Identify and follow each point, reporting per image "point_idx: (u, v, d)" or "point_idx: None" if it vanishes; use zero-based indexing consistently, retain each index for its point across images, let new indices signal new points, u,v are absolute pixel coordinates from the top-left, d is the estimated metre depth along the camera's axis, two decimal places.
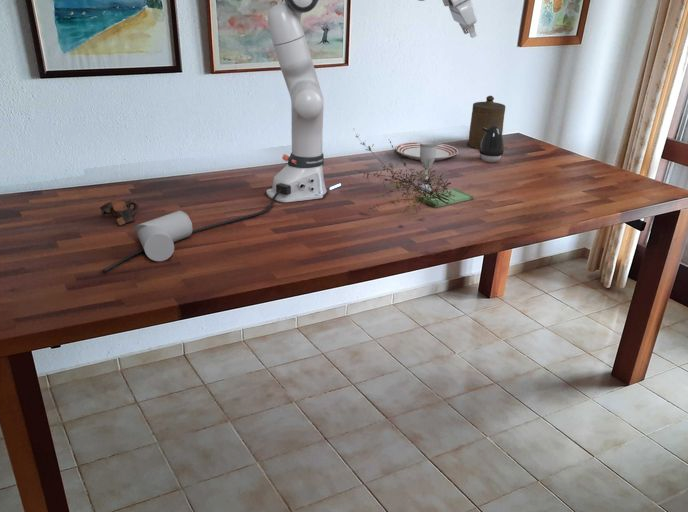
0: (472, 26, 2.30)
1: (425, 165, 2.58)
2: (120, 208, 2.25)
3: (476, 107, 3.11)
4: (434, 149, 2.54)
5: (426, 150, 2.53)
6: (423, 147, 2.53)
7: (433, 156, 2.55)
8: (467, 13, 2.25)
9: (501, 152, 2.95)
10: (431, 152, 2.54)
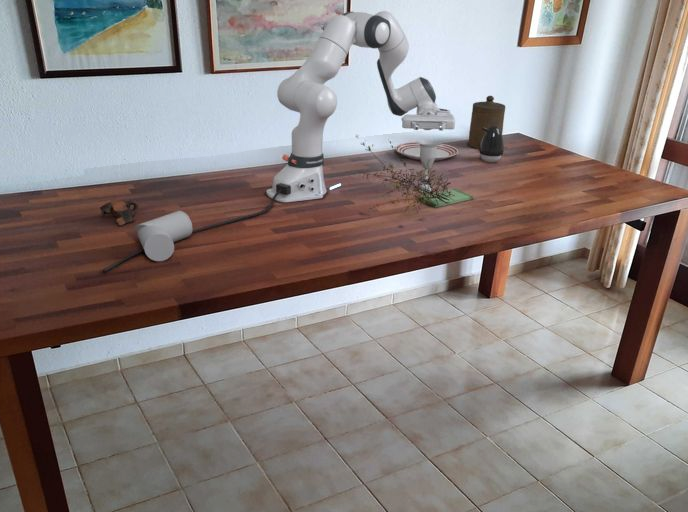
0: (445, 126, 2.66)
1: (425, 165, 2.58)
2: (120, 208, 2.24)
3: (476, 107, 3.10)
4: (434, 149, 2.54)
5: (426, 150, 2.53)
6: (423, 147, 2.53)
7: (433, 156, 2.55)
8: None
9: (501, 152, 2.95)
10: (431, 152, 2.54)
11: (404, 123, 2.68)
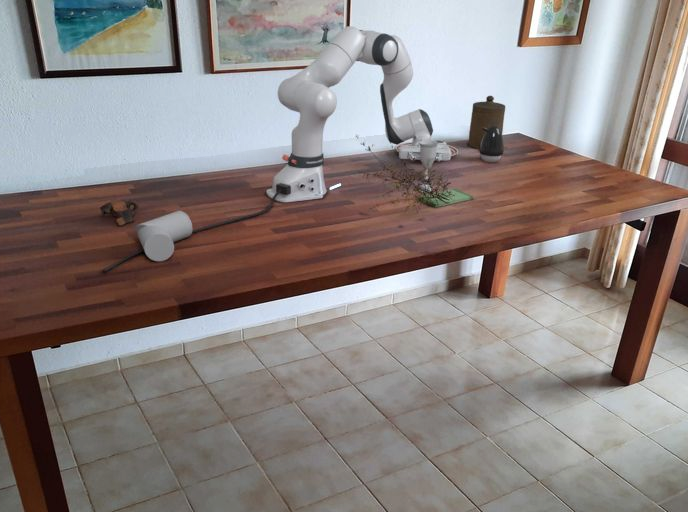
0: (441, 158, 2.70)
1: (425, 165, 2.58)
2: (120, 208, 2.24)
3: (476, 107, 3.10)
4: (434, 149, 2.54)
5: (426, 150, 2.53)
6: (423, 147, 2.53)
7: (433, 156, 2.55)
8: None
9: (501, 152, 2.95)
10: (431, 152, 2.54)
11: (401, 154, 2.71)
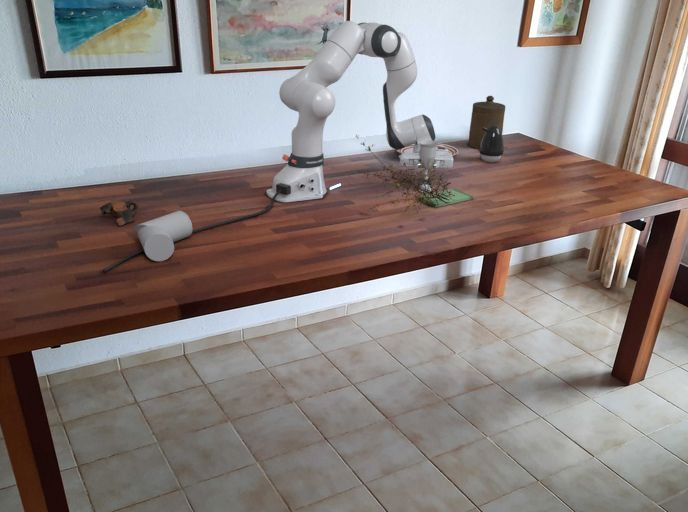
0: (439, 165, 2.62)
1: (425, 165, 2.58)
2: (120, 208, 2.24)
3: (476, 107, 3.11)
4: (434, 149, 2.54)
5: (426, 150, 2.53)
6: (423, 147, 2.53)
7: (433, 156, 2.55)
8: None
9: (501, 152, 2.95)
10: (431, 152, 2.54)
11: (402, 161, 2.63)
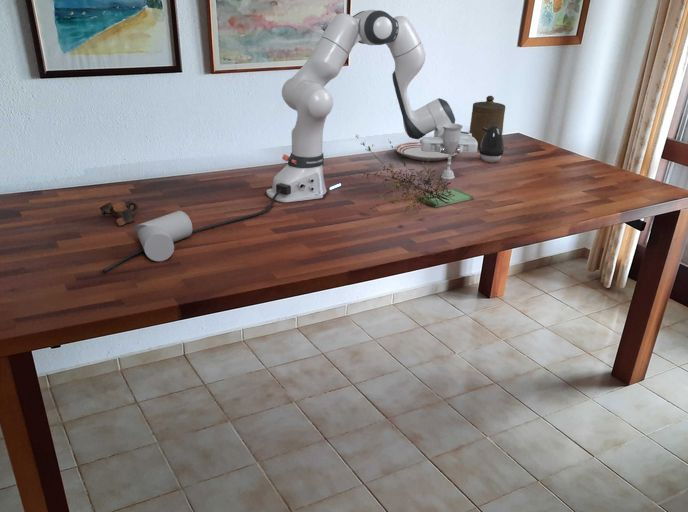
0: (462, 150, 2.49)
1: (448, 150, 2.45)
2: (120, 208, 2.24)
3: (476, 107, 3.10)
4: (458, 133, 2.42)
5: (450, 133, 2.41)
6: (447, 130, 2.41)
7: (457, 140, 2.43)
8: None
9: (501, 152, 2.95)
10: (455, 136, 2.42)
11: (423, 146, 2.50)
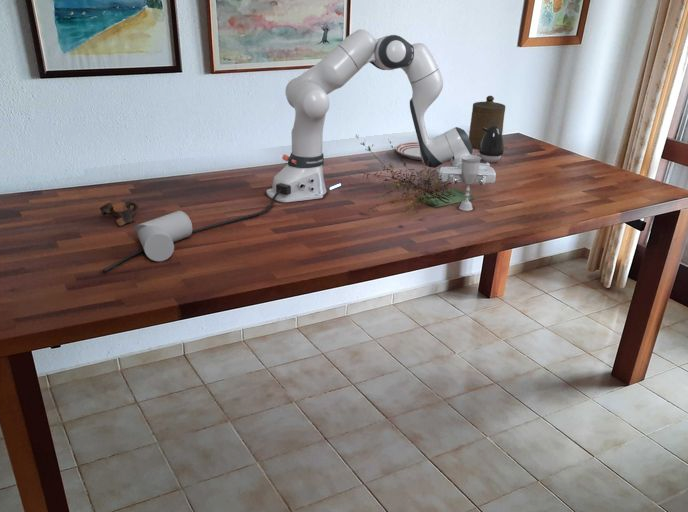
0: (485, 180, 2.46)
1: (467, 181, 2.42)
2: (120, 209, 2.24)
3: (476, 107, 3.10)
4: (477, 165, 2.38)
5: (469, 165, 2.38)
6: (465, 162, 2.38)
7: (476, 172, 2.40)
8: None
9: (501, 152, 2.95)
10: (474, 168, 2.38)
11: (441, 176, 2.47)
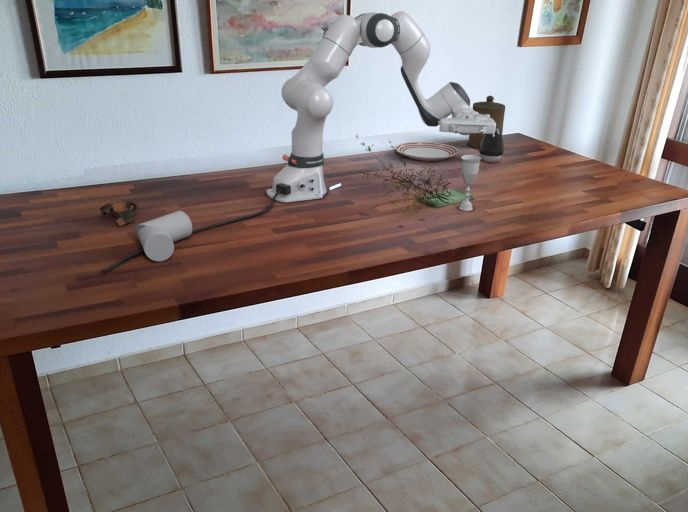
0: (486, 130, 2.50)
1: (467, 181, 2.42)
2: (120, 209, 2.24)
3: (476, 107, 3.10)
4: (477, 165, 2.38)
5: (469, 165, 2.38)
6: (465, 162, 2.38)
7: (476, 172, 2.40)
8: None
9: (501, 152, 2.95)
10: (474, 168, 2.38)
11: (442, 126, 2.51)
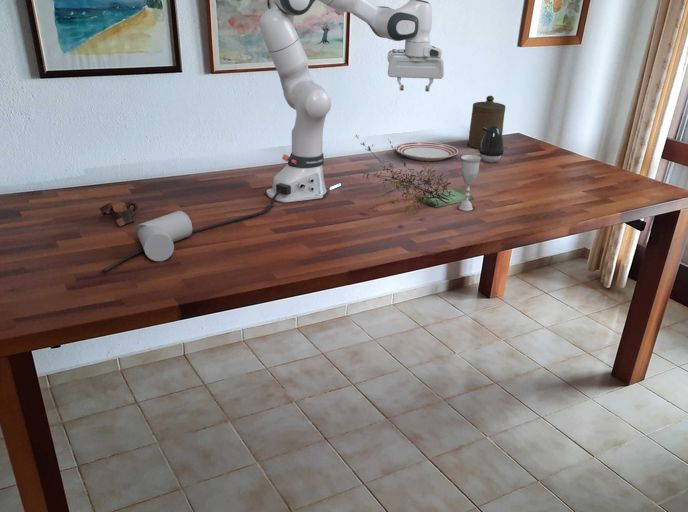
0: (432, 80, 2.53)
1: (467, 181, 2.42)
2: (120, 209, 2.24)
3: (476, 107, 3.11)
4: (477, 165, 2.38)
5: (469, 165, 2.38)
6: (465, 162, 2.38)
7: (476, 172, 2.40)
8: None
9: (501, 152, 2.95)
10: (474, 168, 2.38)
11: None
